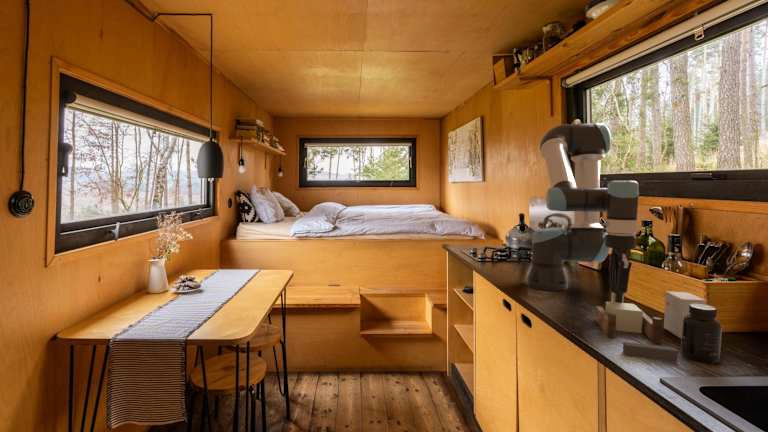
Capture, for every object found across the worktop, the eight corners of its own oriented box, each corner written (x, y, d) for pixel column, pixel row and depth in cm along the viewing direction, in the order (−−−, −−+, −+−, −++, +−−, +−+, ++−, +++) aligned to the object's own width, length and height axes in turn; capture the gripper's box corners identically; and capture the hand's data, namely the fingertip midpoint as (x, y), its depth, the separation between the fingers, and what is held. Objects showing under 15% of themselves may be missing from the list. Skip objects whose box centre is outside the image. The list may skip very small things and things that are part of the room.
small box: (704, 340, 94) (707, 300, 93) (680, 339, 95) (682, 299, 94) (686, 329, 102) (688, 292, 101) (663, 327, 103) (665, 290, 102)
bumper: (622, 352, 87) (623, 341, 87) (673, 358, 84) (673, 347, 84) (625, 355, 85) (626, 345, 85) (677, 362, 82) (677, 351, 82)
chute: (595, 319, 109) (596, 299, 109) (640, 323, 105) (641, 303, 105) (608, 337, 96) (609, 314, 95) (660, 343, 92) (662, 319, 92)
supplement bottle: (672, 351, 87) (675, 301, 87) (699, 350, 88) (702, 301, 87) (699, 365, 81) (702, 311, 80) (728, 364, 81) (732, 310, 80)
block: (604, 321, 108) (605, 301, 107) (632, 324, 105) (633, 303, 105) (611, 330, 101) (613, 308, 100) (641, 333, 99) (642, 311, 98)
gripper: (600, 231, 114) (596, 306, 115) (612, 236, 102) (608, 319, 103) (628, 232, 112) (624, 308, 113) (644, 237, 99) (639, 322, 101)
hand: (616, 313), depth 108 cm, fingers closed
